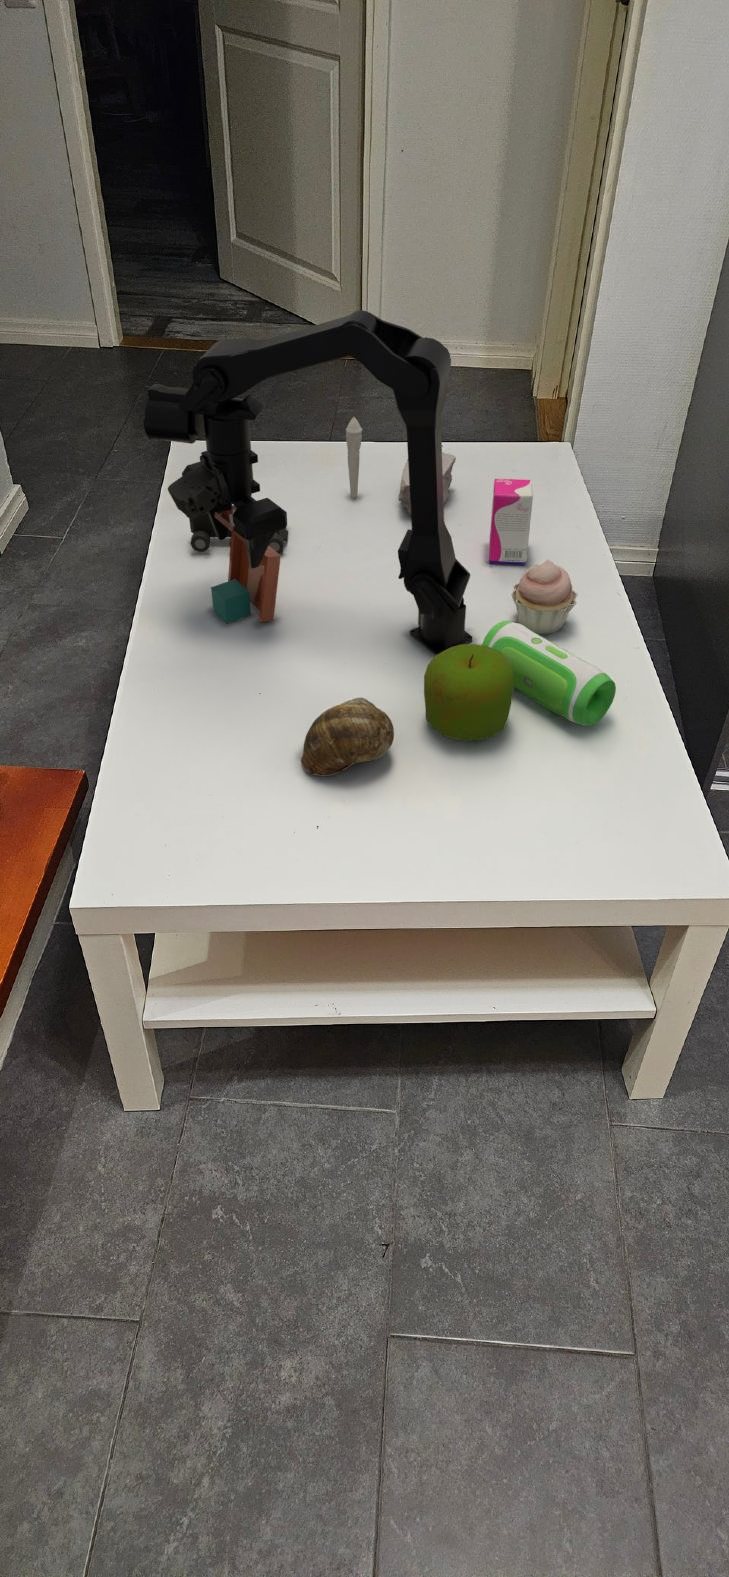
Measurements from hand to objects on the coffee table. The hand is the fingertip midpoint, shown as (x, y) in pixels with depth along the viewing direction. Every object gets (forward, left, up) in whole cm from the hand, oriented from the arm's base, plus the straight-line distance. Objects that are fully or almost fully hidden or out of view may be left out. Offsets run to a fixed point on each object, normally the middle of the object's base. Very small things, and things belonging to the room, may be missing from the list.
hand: (238, 553), depth 149 cm
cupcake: (-27, -33, -9) cm, 44 cm away
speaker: (-40, -22, -9) cm, 47 cm away
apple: (-39, -10, -9) cm, 41 cm away
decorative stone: (+11, -41, -9) cm, 44 cm away
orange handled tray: (0, -3, -2) cm, 4 cm away
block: (0, +2, -5) cm, 5 cm away
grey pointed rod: (+19, -32, -9) cm, 38 cm away
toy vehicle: (+17, -9, -9) cm, 21 cm away
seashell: (-36, +6, -9) cm, 38 cm away
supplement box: (-10, -41, -9) cm, 43 cm away
